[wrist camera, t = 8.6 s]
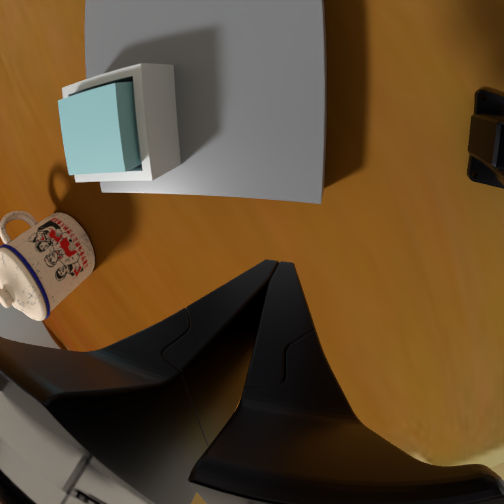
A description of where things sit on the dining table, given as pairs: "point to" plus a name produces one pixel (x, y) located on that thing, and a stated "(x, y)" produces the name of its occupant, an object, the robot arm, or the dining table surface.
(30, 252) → the teacup with lid
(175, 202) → the dining table surface
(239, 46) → the grey rectangular board
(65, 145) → the teal key
